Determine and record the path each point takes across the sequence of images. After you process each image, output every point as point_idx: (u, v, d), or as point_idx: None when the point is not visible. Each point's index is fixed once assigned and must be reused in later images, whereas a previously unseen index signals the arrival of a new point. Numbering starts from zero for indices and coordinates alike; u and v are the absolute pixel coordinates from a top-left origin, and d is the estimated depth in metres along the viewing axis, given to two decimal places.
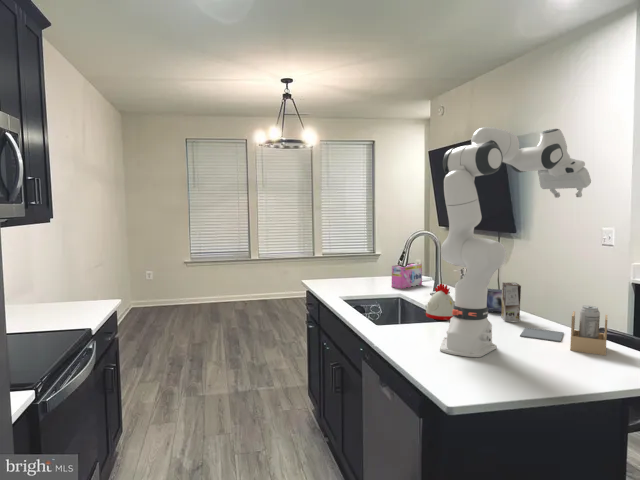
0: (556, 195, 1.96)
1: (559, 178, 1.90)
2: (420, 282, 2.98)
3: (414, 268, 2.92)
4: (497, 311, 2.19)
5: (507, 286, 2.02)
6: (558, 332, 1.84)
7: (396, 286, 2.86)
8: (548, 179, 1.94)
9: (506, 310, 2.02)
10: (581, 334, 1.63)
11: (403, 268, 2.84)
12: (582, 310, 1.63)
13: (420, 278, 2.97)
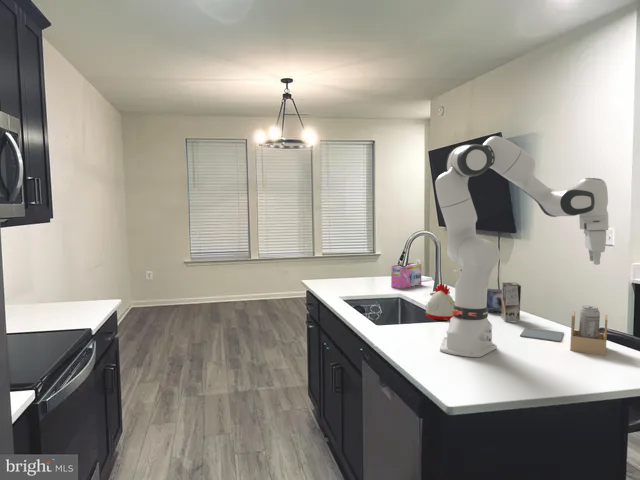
0: (590, 257, 1.70)
1: (588, 236, 1.66)
2: (419, 282, 2.98)
3: (414, 268, 2.92)
4: (497, 311, 2.19)
5: (507, 286, 2.02)
6: (558, 332, 1.84)
7: (396, 286, 2.86)
8: (587, 236, 1.71)
9: (506, 310, 2.02)
10: (581, 334, 1.63)
11: (403, 268, 2.84)
12: (582, 310, 1.63)
13: (419, 278, 2.98)
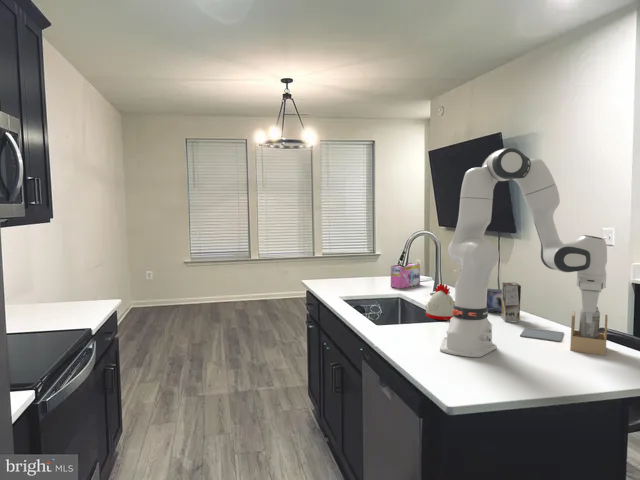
0: None
1: None
2: (418, 282, 2.98)
3: (413, 268, 2.93)
4: (497, 311, 2.19)
5: (507, 286, 2.02)
6: (558, 332, 1.84)
7: (395, 286, 2.86)
8: None
9: (506, 310, 2.02)
10: (581, 334, 1.63)
11: (402, 268, 2.84)
12: (582, 310, 1.63)
13: (418, 278, 2.98)
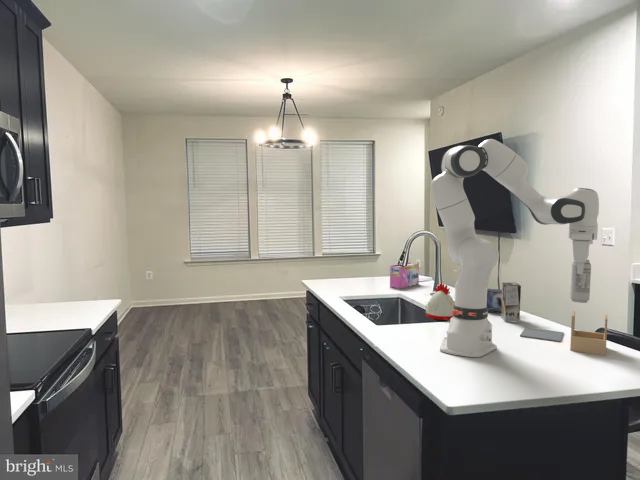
0: None
1: None
2: (417, 282, 2.99)
3: (412, 268, 2.93)
4: (497, 311, 2.19)
5: (507, 286, 2.02)
6: (558, 332, 1.84)
7: (395, 286, 2.86)
8: None
9: (506, 310, 2.02)
10: (572, 287, 1.65)
11: (402, 268, 2.84)
12: (574, 263, 1.65)
13: (417, 278, 2.99)
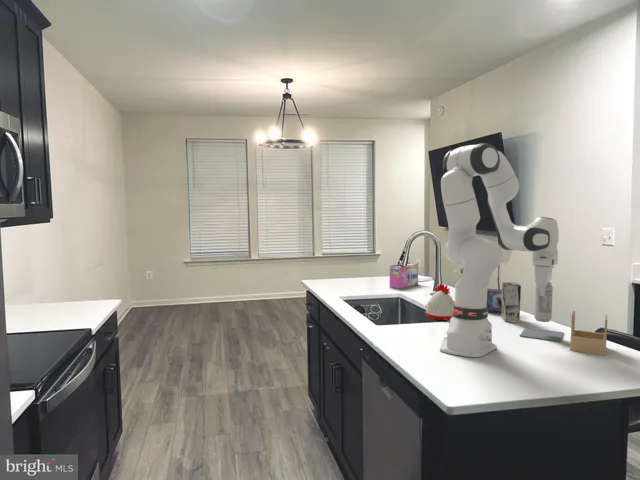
0: None
1: None
2: (416, 282, 2.99)
3: (411, 268, 2.93)
4: (497, 311, 2.19)
5: (507, 286, 2.02)
6: (558, 332, 1.84)
7: (394, 286, 2.86)
8: None
9: (506, 310, 2.02)
10: (536, 307, 1.80)
11: (401, 268, 2.84)
12: None
13: (416, 278, 2.99)
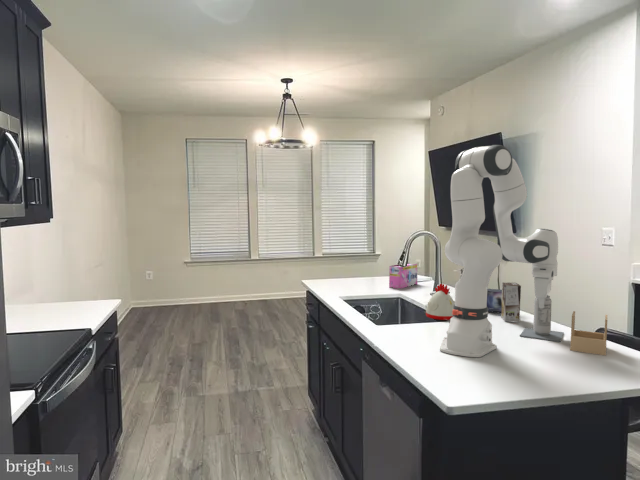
0: None
1: None
2: (416, 282, 2.99)
3: (411, 268, 2.93)
4: (497, 311, 2.19)
5: (507, 286, 2.02)
6: (558, 332, 1.84)
7: (394, 286, 2.86)
8: None
9: (506, 310, 2.02)
10: (535, 320, 1.81)
11: (401, 268, 2.84)
12: (536, 299, 1.80)
13: (416, 278, 2.99)
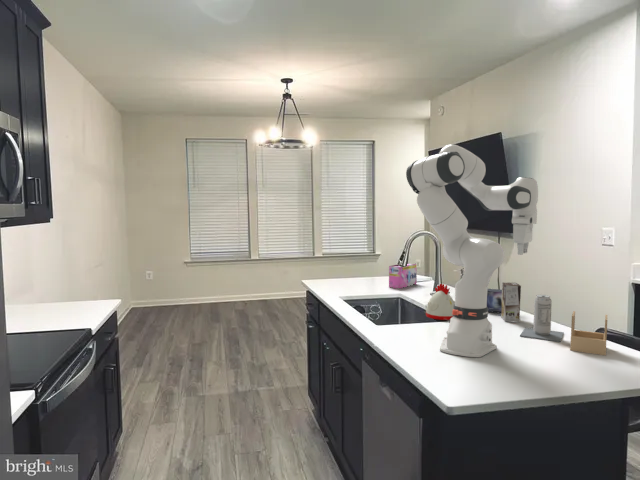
0: None
1: None
2: (415, 281, 3.00)
3: (410, 268, 2.94)
4: (497, 311, 2.19)
5: (507, 286, 2.02)
6: (558, 332, 1.84)
7: (394, 286, 2.86)
8: None
9: (506, 310, 2.02)
10: (535, 320, 1.81)
11: (401, 268, 2.84)
12: (536, 299, 1.80)
13: (415, 278, 2.99)
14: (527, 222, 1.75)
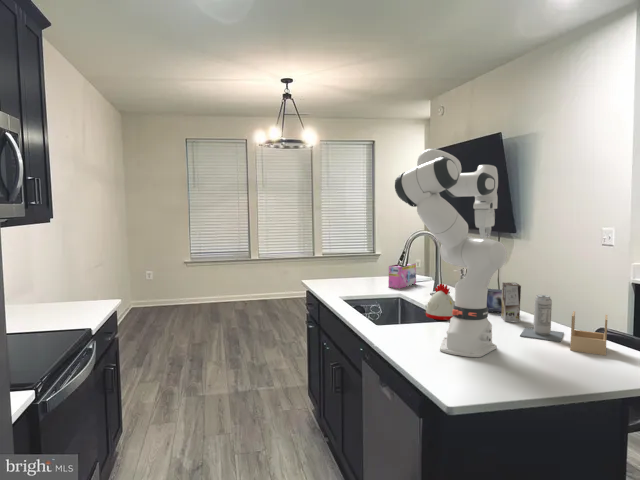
0: (485, 234, 1.97)
1: None
2: (414, 281, 3.00)
3: (410, 268, 2.94)
4: (497, 311, 2.19)
5: (507, 286, 2.02)
6: (558, 332, 1.84)
7: (393, 286, 2.86)
8: None
9: (506, 310, 2.02)
10: (535, 320, 1.81)
11: (400, 268, 2.84)
12: (536, 299, 1.81)
13: (414, 277, 2.99)
14: (487, 207, 1.83)
